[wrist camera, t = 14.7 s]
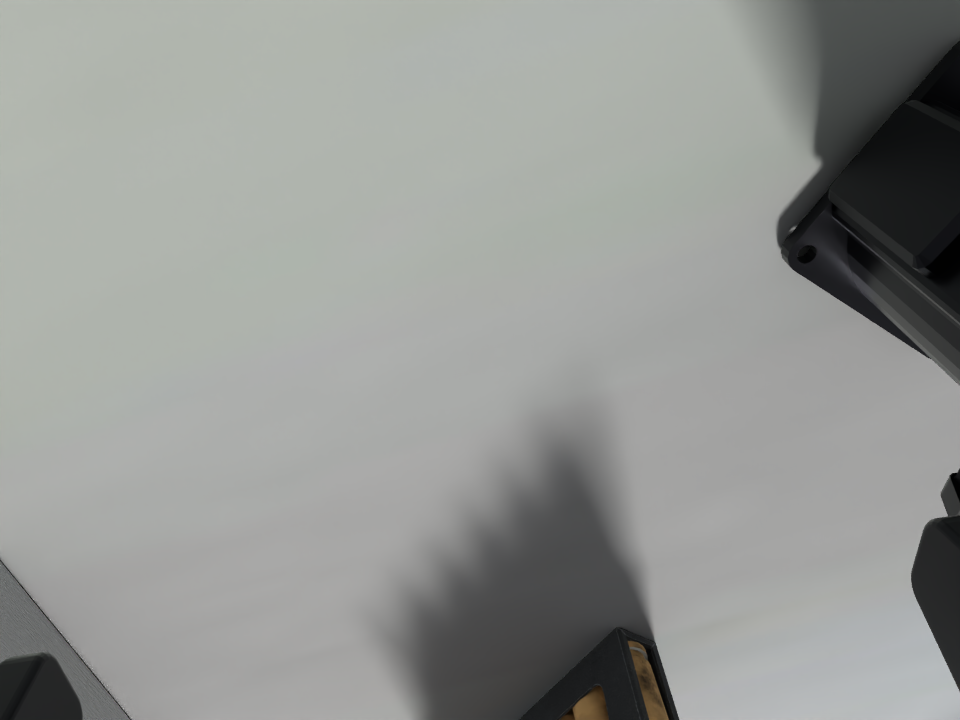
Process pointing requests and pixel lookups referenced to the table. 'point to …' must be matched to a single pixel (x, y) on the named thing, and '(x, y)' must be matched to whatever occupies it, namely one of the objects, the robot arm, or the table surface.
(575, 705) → the ammunition clip
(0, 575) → the metal housing
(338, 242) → the table surface
